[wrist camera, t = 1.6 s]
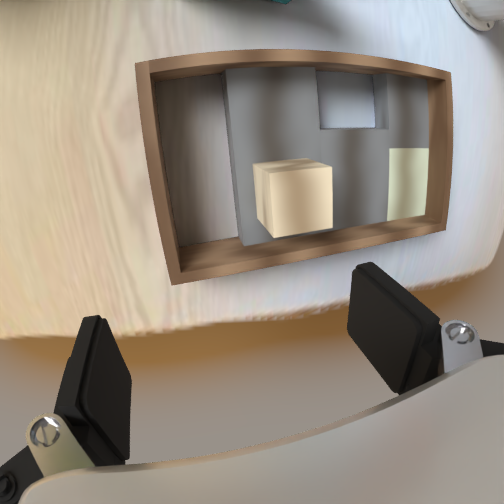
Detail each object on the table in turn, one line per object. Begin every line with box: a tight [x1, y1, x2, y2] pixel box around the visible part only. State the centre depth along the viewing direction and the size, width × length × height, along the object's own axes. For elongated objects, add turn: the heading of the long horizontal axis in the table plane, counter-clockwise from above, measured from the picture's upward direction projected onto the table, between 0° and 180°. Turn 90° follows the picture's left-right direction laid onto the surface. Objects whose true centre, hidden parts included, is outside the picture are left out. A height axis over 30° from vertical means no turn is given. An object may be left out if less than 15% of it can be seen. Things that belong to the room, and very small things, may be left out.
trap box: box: [135, 49, 453, 285], centre depth 27 cm, size 30×18×6 cm, turn 95°
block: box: [253, 158, 333, 238], centre depth 26 cm, size 5×5×5 cm
